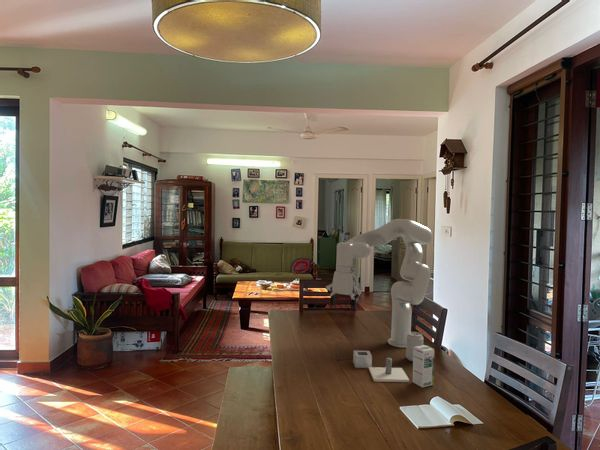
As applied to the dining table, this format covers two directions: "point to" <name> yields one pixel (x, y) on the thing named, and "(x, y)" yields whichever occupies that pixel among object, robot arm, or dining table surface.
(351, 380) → the dining table surface
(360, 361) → the grey hollow square block
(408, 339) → the can
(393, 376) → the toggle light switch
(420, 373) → the syrup box
